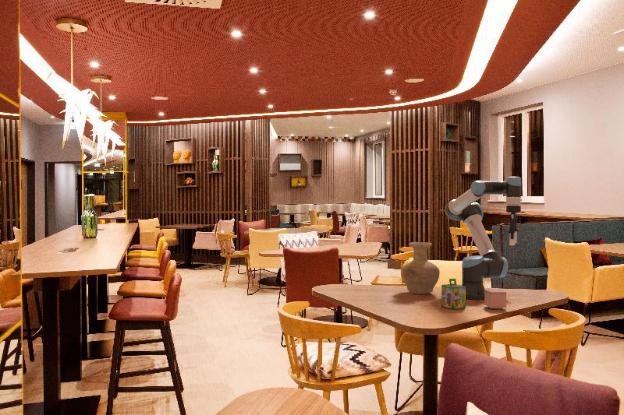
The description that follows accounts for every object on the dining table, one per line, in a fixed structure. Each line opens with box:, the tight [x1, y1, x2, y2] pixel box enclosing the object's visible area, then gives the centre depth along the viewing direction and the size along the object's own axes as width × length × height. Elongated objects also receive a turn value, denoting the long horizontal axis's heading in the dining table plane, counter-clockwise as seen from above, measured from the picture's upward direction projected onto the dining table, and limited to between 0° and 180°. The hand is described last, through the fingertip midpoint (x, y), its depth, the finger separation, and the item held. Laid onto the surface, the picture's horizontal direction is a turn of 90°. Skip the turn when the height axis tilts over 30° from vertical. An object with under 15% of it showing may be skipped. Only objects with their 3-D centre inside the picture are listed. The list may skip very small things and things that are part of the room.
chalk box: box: [440, 278, 467, 310], centre depth 276 cm, size 9×9×15 cm
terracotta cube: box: [484, 288, 507, 309], centre depth 274 cm, size 8×8×8 cm
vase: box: [400, 241, 441, 295], centre depth 315 cm, size 22×22×30 cm
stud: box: [487, 306, 503, 311], centre depth 274 cm, size 7×7×8 cm
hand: (513, 244), depth 289 cm, fingers open, 13 cm apart
